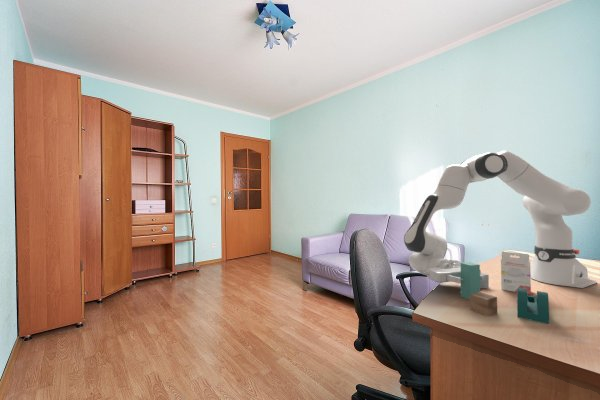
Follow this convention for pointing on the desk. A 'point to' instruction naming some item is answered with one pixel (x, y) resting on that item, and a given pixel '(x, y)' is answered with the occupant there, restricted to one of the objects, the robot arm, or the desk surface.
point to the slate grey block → (486, 281)
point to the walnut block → (483, 303)
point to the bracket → (533, 306)
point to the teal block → (470, 279)
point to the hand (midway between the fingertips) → (472, 279)
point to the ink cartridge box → (515, 272)
